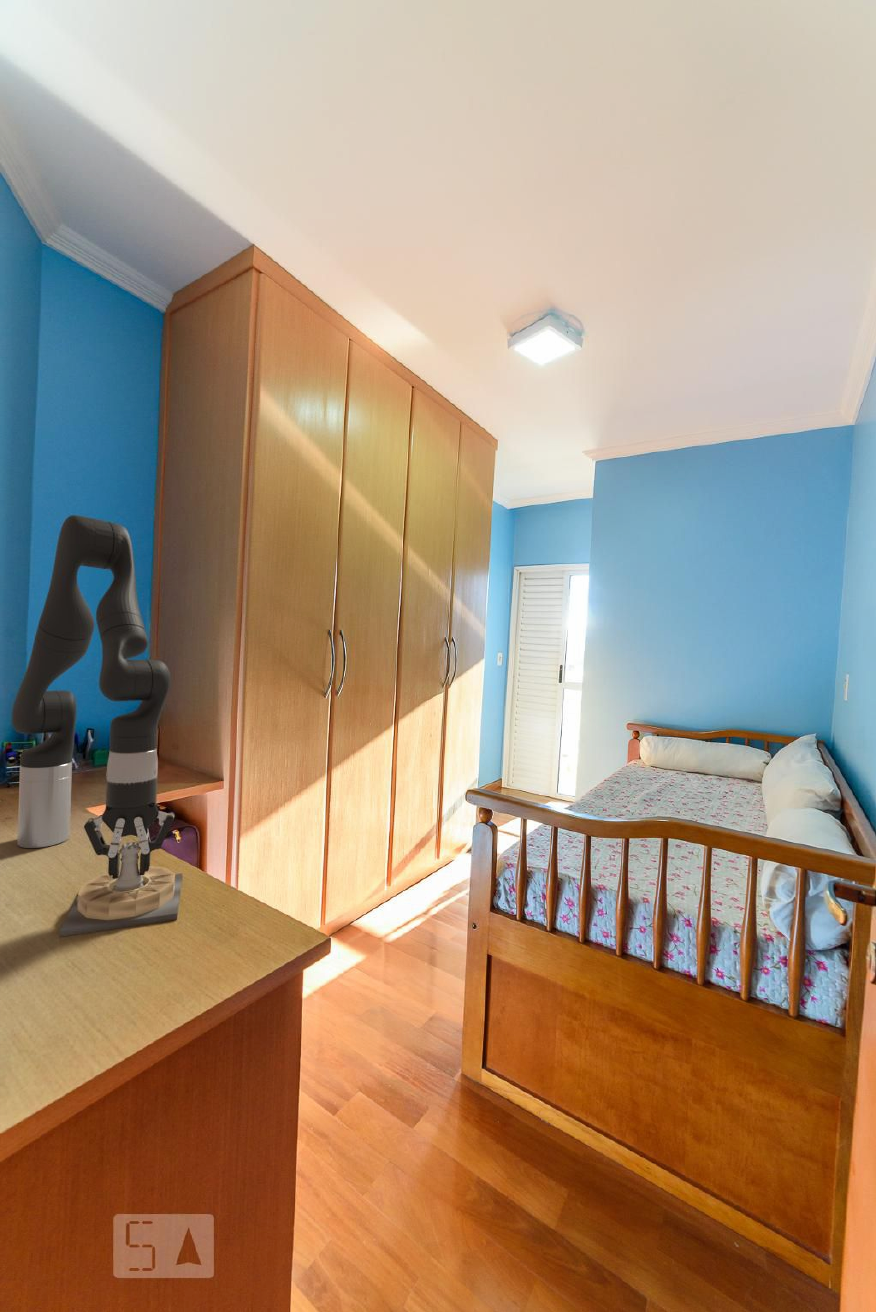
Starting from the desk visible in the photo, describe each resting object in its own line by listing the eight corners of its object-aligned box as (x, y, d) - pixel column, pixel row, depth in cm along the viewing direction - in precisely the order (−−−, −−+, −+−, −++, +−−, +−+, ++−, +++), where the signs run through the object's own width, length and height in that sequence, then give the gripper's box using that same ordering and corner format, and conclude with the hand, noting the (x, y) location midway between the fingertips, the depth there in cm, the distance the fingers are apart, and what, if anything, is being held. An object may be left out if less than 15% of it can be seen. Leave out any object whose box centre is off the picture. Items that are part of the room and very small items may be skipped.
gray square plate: (83, 890, 94) (84, 870, 94) (182, 878, 101) (183, 859, 101) (59, 936, 80) (60, 913, 80) (177, 919, 86) (177, 897, 86)
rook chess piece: (129, 898, 87) (131, 850, 87) (107, 894, 88) (108, 847, 88) (149, 886, 92) (151, 841, 92) (127, 883, 93) (129, 838, 93)
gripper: (179, 768, 96) (176, 861, 96) (88, 772, 90) (85, 871, 91) (177, 778, 89) (173, 879, 89) (78, 783, 84) (74, 891, 84)
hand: (129, 874), depth 90 cm, fingers closed on rook chess piece, 3 cm apart
